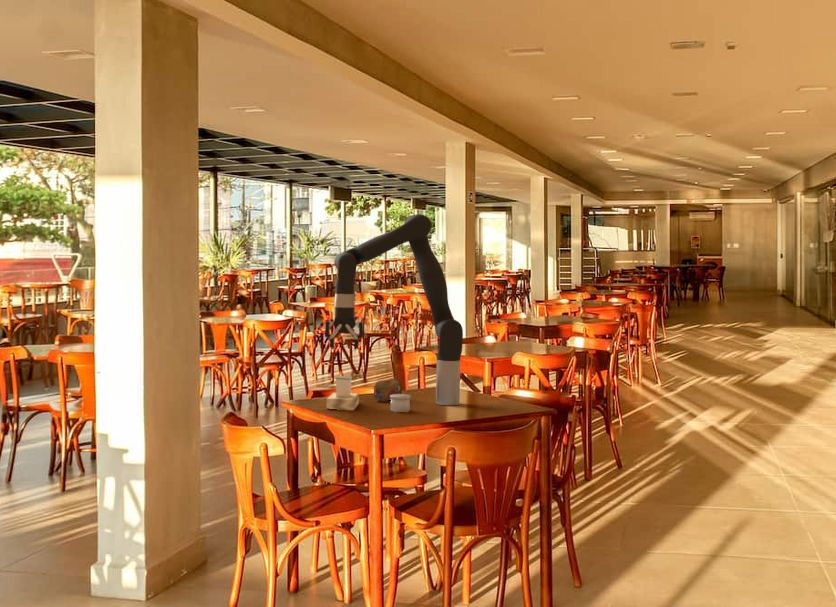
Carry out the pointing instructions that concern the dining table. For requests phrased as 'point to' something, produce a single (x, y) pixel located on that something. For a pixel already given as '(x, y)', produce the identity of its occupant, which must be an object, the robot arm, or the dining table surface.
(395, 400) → the sugar bowl
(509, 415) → the dining table surface
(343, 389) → the green and cream block
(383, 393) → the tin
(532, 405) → the dining table surface
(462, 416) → the dining table surface
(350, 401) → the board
